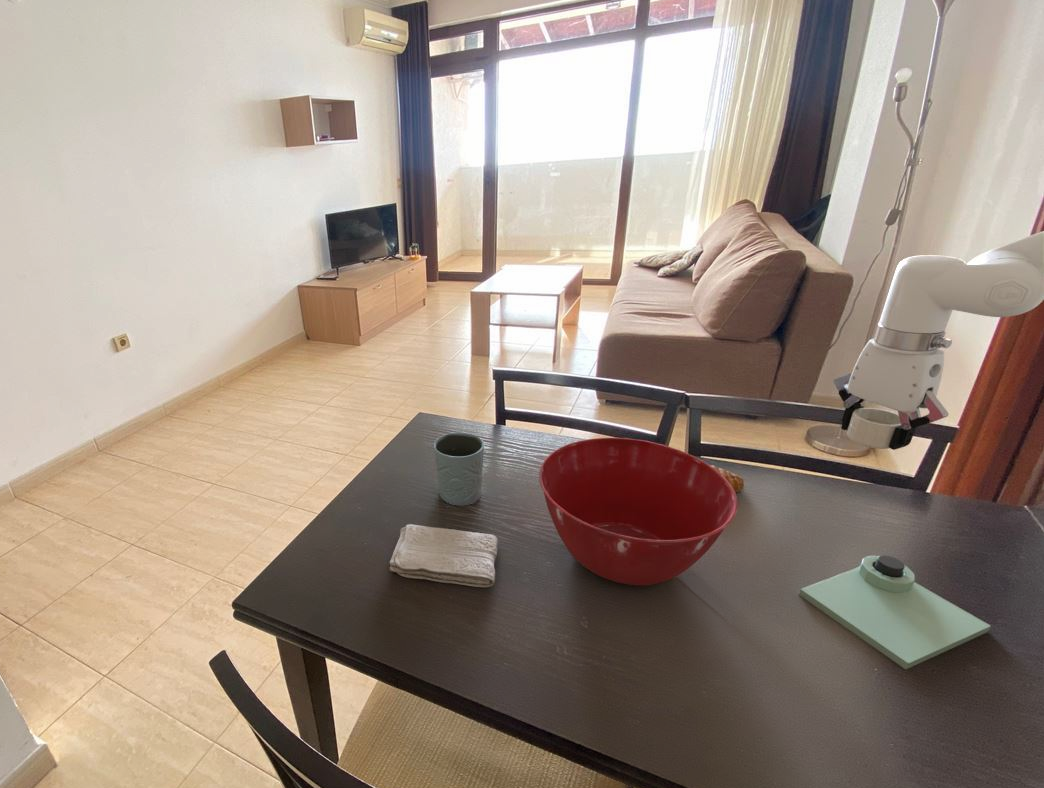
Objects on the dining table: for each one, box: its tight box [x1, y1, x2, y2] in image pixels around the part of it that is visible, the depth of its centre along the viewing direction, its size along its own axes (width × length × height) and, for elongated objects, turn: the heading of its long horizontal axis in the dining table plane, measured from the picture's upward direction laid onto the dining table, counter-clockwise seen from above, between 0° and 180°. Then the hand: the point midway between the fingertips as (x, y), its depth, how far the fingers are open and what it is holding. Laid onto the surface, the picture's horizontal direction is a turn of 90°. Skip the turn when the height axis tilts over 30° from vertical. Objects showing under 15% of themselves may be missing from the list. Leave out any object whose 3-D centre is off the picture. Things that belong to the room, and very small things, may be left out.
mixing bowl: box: [538, 437, 739, 586], centre depth 89 cm, size 28×28×16 cm
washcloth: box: [389, 523, 499, 588], centre depth 94 cm, size 12×18×3 cm, turn 75°
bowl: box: [846, 407, 901, 450], centre depth 91 cm, size 7×7×5 cm
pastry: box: [710, 464, 745, 493], centre depth 107 cm, size 9×7×4 cm
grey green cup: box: [433, 432, 485, 506], centre depth 110 cm, size 10×10×12 cm
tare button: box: [874, 554, 906, 578], centre depth 81 cm, size 3×3×2 cm
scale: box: [798, 555, 992, 670], centre depth 77 cm, size 16×14×3 cm
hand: (872, 436), depth 91 cm, fingers closed on bowl, 6 cm apart
